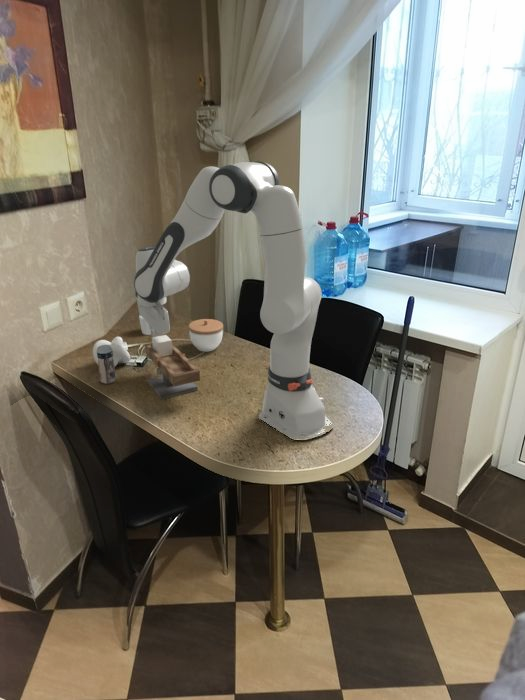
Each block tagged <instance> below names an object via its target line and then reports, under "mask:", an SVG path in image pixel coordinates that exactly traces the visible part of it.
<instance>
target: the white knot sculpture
mask: <svg viewBox="0 0 525 700" xmlns="http://www.w3.org/2000/svg"><path fill="white" fill-rule="evenodd" d="M101 345H109V346H110V347H111V348H112V351H113V360H114V368H116V366H117V365H119V363H120V364H123V363H126V364H129V362H130V361H131V355H130V353H129V352H128V350H127V349H125V348H124V340H123V338H122V337H121V336H116V337H114V338H113V339H112V340H111V341H108V340H106V339H100V340H97V341H96V342H95V343H94V345H93V348H92V356H93V359H94V361H95V363H96V364H97V365H98V357H97V348H98V347H99V346H101Z"/></svg>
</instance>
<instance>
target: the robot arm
mask: <svg viewBox="0 0 525 700" xmlns="http://www.w3.org/2000/svg"><path fill="white" fill-rule="evenodd" d="M226 210H227V211H232V212H237V213H241V214H248V213H249V212H251V213H253V215H254V216H255V218H256V220H257V221H256V222H257V224H258V225H257V226H258V232H259V238H260V243H261V249H262V256H263V264H264V282H263V283H264V286H263V301H262V304H261V308H260V311H259V312H260V313H259V315H260V316H259V317H260V321H261V324H262V325H263V327H264V328H265V329H266V330H267V331H269V332H270V333H273V335H272V338H271V341H270V351H269V352H270V353H269V366H268V368H267V381H268V383H267V386H266V388H265V390H264V392H263V393H264V394H263V401H262V409H261V411H260V413H259V414H258V419H259V420H260V419H261V420H263V421H264V422H266V423H267V424H269V425H270V426H272V427H274V428H276V429H277V430H279V431H281V432H282V433H284V434H286V435H287V436H289V437H291V438H293V439H305V438H309V437H313V436H316V435H318V434H320V433H323V432H325V431H324V430H325V429H323V427H325V426H329V424H330V423H331V424H333V422H332V421H331V420H330V419H329V418H328V417H327V414H326V407H325V406H324V404H325V399H324V397H322V396H319V395H318V393H317V391H316V389H315V387H314V385H313V383H315V382H314V380H315V378H312V373H311V370H310V369H311V368H310V357H311V356H310V355H311V348H312V347H311V345H312V341H313V340H312V338H313V336H314V331H315V327H316V322H317V319H318V318H317V317H318V312H319V306H320V304H321V300H322V295H323V294H322V288H321V286H320V284H319V283H318V282H317V281H316V280H315V279H314V278H311V277H308V276H305V272H306V271H305V270H306V264H307V259H308V254H307V249H306V242H305V241H306V239H305V235H304V226H303V221H302V215H301V211H300V208H299V203H298V200H297V198H296V196H295V193H294V191H293V190H292V189H291V188H289V187H288V186H286V185H280V177H279V175H278V172H277V171H276V169H275V168H274V166H272V165H271V164H270V163H267V162H265V161H258V160H257V161H253V162H252V161H251V162H250V161H248V162H246V161H242V162H241V161H240V162H237V163H233V164H227V165H224V166H222V167H220V168H219V167H217V166H213V165H211V166H206V167H203V168H202V169H201V170H200V171H199V173H198V174H197V175H196V176H195V178H194V180H193V181H192V183H191V185H190V187H189V188H188V190H187V193H186V194H185V198H184V200H183V202H182V204H181V206H180V207H179V209H178V211H177V212H176V214H175V215H174V217H173V219H172V220H171V222H170V223H169V224H168V226H167V227H166V229H165V230H164V231H163V232H162V234H161V236H160V237H159V239H158V241H157V243H156V244H155V245H154V246H153V245H152V246H145V247H143V248H140V249H138V250H137V252H136V255H135V275H134V280H133V287H134V288H133V289H134V295H135V297H136V303H137V308H138V313H139V315H141V316H142V317H143V318H144V319H145V320H146V321H147V322H148V323H149V327H150V330H151V335H150V336H152V337H157V336H160V335H166V334H168V333H170V332H171V327H170V317H169V312H168V310H167V308H165V306H164V305H165V304H166V303H167V302H168V301H167V300H168V299H167V298H168V297H170V296H172V295H174V294H177V293H179V292H181V291H183V290H185V289H188V287H189V286H190V283H191V272H190V269H189V267H188V266H187V264H186V263H184V262H183V261H181V260H177V259H176V258H177V257H178V255H180V253H181V252H182V251H184V250H185V249H186V248H188V247H190V246H192V245H193V244H195V243H198V242H200V241H201V240H204V239H206V238H207V237H209V236H211V235H212V234H213V232H214V231H215V230H216V228H217V226H218V225H219V223H220V221H221V220H222V218H223V215H224V213H225V211H226ZM261 420H260V421H261ZM327 420H328V421H327ZM263 421H262V422H263ZM264 422H263V423H264ZM266 423H265V424H266ZM267 424H266V425H267ZM326 424H327V425H326ZM331 424H330V425H331ZM269 425H268V426H269ZM270 426H269V427H270ZM272 427H271V428H272ZM274 428H273V429H274ZM277 430H276V431H277ZM301 436H304V437H301Z"/></svg>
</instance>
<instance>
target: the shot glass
mask: <svg viewBox="0 0 525 700" xmlns="http://www.w3.org/2000/svg"><path fill="white" fill-rule="evenodd" d="M138 320H139V324H140V328H141V334H143V335H147V336H148V335H149V336H152V335H151V330H150V327H149V323H148V322H147V321H146V320H145V319H144V318H143V317H142V316H141V315H140V314H139V315H138Z"/></svg>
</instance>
